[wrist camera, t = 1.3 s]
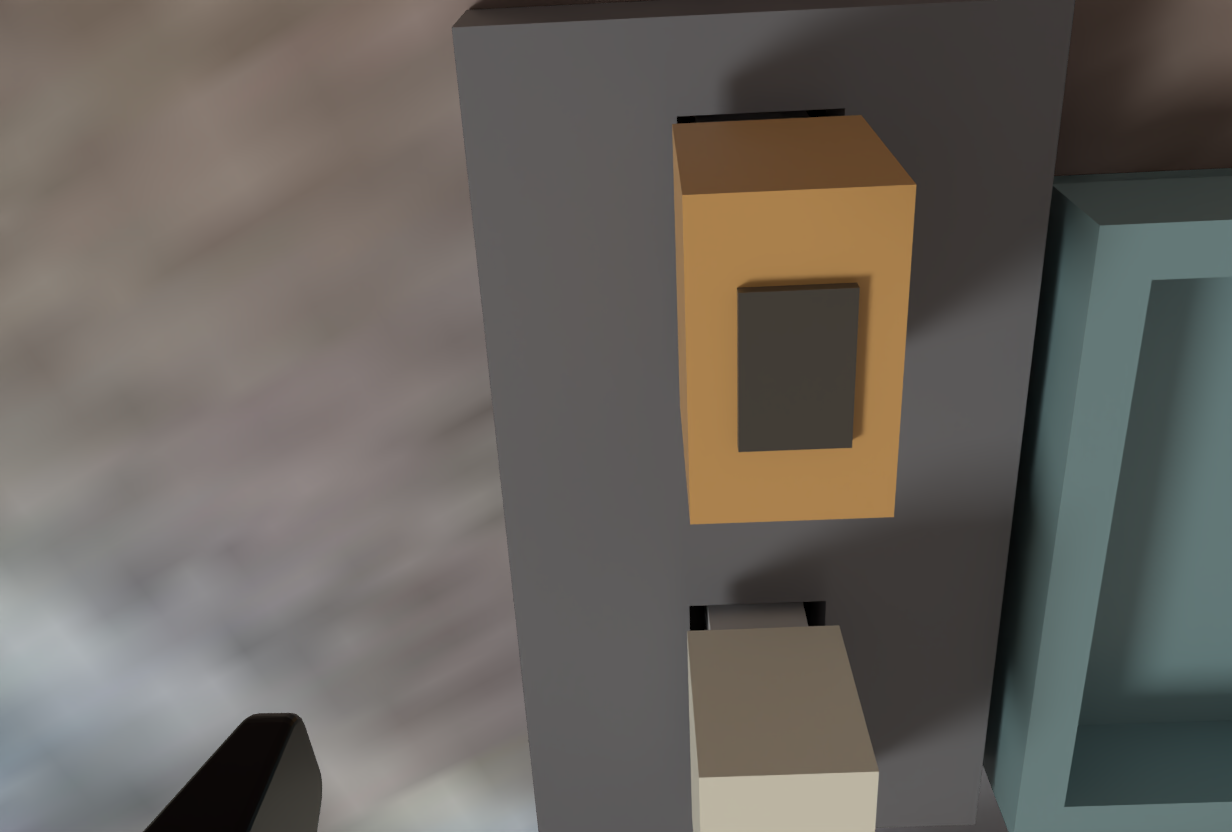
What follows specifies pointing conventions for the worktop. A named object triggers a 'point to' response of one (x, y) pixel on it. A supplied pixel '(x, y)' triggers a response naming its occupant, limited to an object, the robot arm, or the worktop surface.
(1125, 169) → the worktop surface
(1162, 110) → the worktop surface
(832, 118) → the block
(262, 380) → the worktop surface
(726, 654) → the block
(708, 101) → the block
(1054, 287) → the parts tray
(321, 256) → the worktop surface
